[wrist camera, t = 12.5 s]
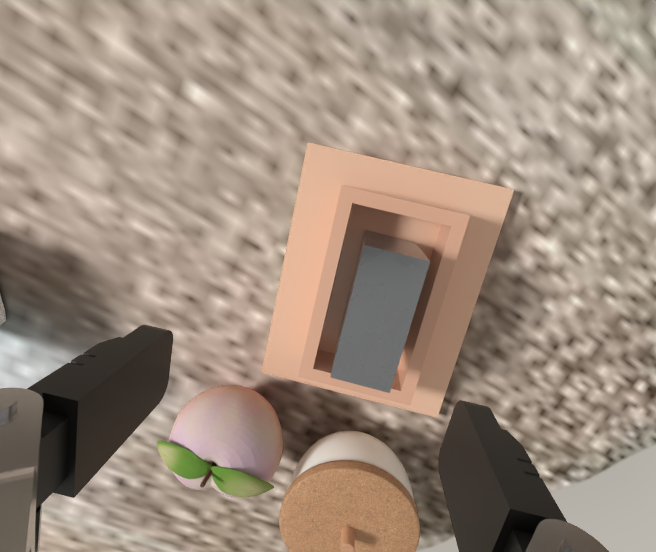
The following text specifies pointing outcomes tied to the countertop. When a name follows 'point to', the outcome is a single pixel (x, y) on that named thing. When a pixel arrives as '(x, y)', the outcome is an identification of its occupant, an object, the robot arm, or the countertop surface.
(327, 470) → the lidded jar
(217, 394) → the decorative fruit
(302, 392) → the countertop surface
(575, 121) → the countertop surface
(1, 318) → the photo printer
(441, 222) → the caddy
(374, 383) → the grey rectangular block
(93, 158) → the countertop surface
